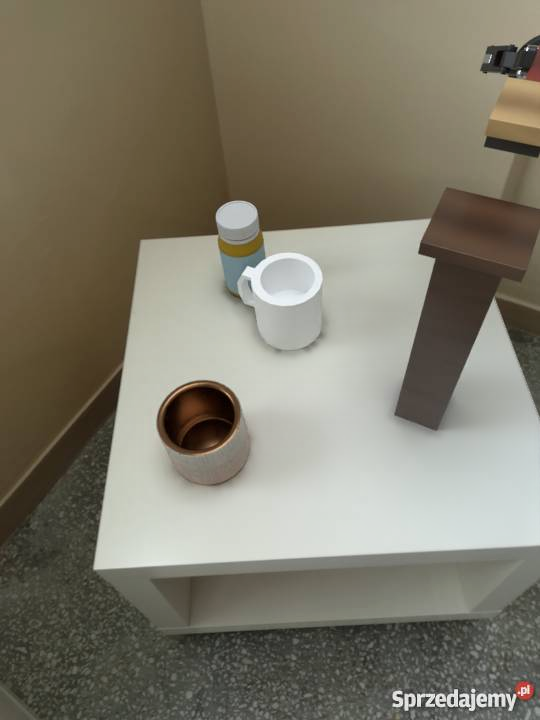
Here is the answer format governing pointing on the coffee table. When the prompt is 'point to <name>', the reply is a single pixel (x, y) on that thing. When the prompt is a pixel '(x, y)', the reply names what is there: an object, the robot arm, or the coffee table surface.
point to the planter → (204, 431)
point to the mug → (285, 299)
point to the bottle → (239, 241)
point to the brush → (517, 115)
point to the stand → (461, 291)
